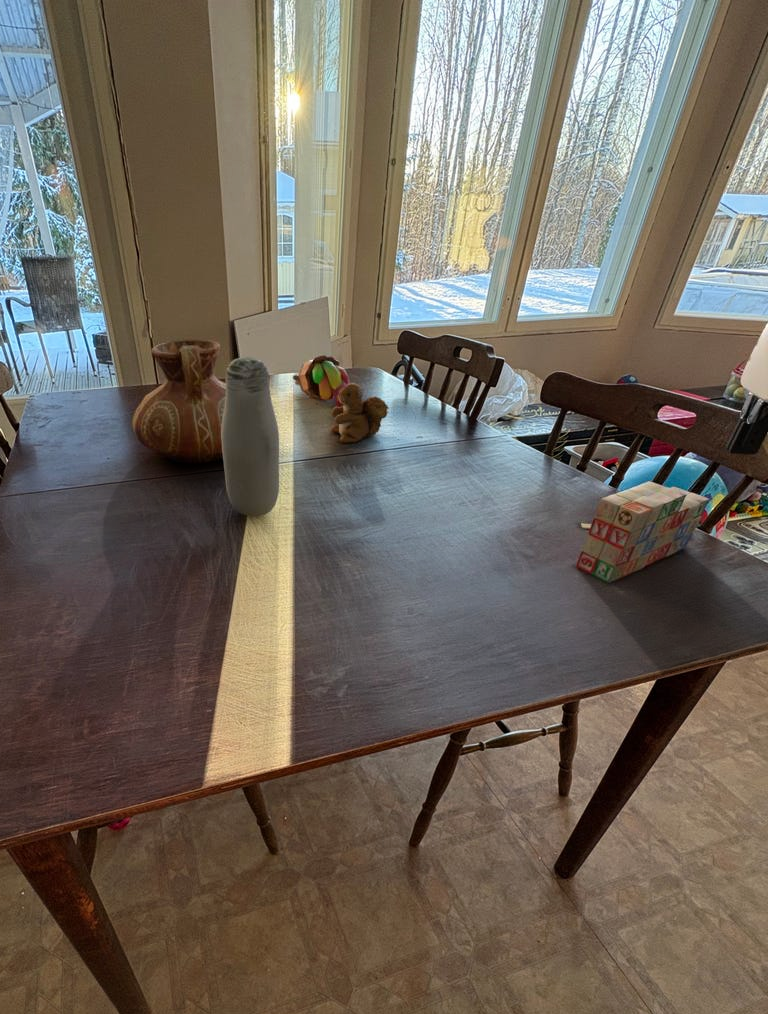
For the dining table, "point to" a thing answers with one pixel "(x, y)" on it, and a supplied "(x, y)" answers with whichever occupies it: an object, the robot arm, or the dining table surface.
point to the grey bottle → (250, 438)
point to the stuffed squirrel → (357, 414)
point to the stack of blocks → (639, 529)
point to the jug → (184, 404)
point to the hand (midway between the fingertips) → (740, 451)
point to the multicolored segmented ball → (322, 378)
